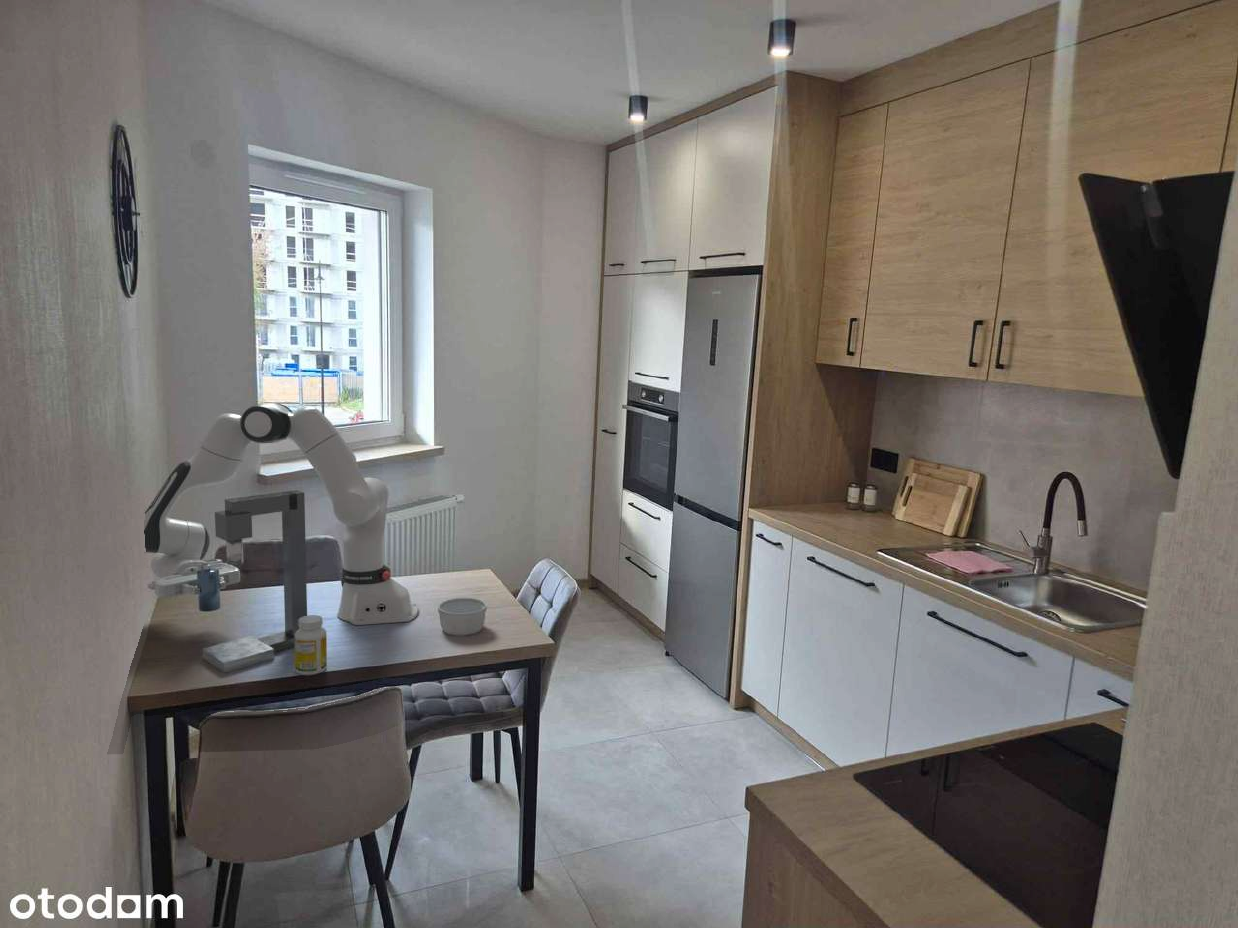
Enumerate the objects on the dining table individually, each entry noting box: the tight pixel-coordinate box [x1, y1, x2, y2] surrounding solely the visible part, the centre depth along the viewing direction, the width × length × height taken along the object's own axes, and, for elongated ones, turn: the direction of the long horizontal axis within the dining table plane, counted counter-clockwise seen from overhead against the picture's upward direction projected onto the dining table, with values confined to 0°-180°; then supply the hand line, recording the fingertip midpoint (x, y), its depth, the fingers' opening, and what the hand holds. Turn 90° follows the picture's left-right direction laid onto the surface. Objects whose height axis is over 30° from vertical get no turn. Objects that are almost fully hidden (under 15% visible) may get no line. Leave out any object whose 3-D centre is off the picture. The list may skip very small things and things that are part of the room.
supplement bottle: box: [294, 614, 328, 676], centre depth 188 cm, size 7×7×13 cm
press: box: [202, 489, 308, 674], centre depth 194 cm, size 23×12×40 cm, turn 140°
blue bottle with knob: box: [197, 564, 222, 613], centre depth 201 cm, size 5×5×12 cm
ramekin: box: [437, 597, 488, 637], centre depth 218 cm, size 13×13×7 cm
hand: (210, 588), depth 200 cm, fingers closed on blue bottle with knob, 5 cm apart
